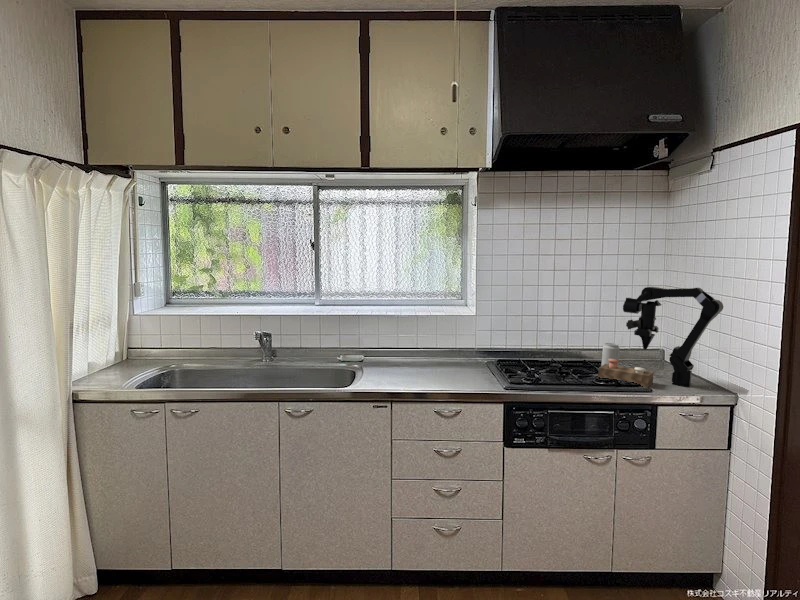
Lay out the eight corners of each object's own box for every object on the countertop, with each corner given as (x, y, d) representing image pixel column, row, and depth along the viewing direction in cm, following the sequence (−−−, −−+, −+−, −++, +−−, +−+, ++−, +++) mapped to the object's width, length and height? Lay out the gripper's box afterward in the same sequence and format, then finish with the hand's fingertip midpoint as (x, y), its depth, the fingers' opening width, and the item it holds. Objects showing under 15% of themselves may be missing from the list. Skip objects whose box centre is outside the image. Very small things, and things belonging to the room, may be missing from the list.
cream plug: (645, 382, 221) (646, 368, 220) (642, 384, 217) (644, 370, 217) (634, 380, 223) (635, 366, 222) (632, 382, 220) (633, 368, 219)
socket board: (652, 383, 221) (653, 371, 221) (647, 387, 214) (648, 375, 213) (604, 374, 234) (605, 363, 233) (597, 378, 226) (598, 367, 225)
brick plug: (618, 373, 227) (619, 359, 226) (616, 374, 224) (617, 361, 223) (608, 371, 230) (609, 358, 229) (606, 373, 226) (607, 359, 226)
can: (615, 371, 241) (617, 345, 240) (599, 368, 246) (601, 343, 245) (619, 368, 247) (621, 343, 246) (603, 365, 252) (605, 341, 251)
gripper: (634, 311, 241) (631, 344, 243) (623, 314, 227) (620, 349, 228) (660, 314, 235) (656, 347, 236) (650, 317, 220) (647, 353, 222)
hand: (644, 349), depth 231 cm, fingers closed
